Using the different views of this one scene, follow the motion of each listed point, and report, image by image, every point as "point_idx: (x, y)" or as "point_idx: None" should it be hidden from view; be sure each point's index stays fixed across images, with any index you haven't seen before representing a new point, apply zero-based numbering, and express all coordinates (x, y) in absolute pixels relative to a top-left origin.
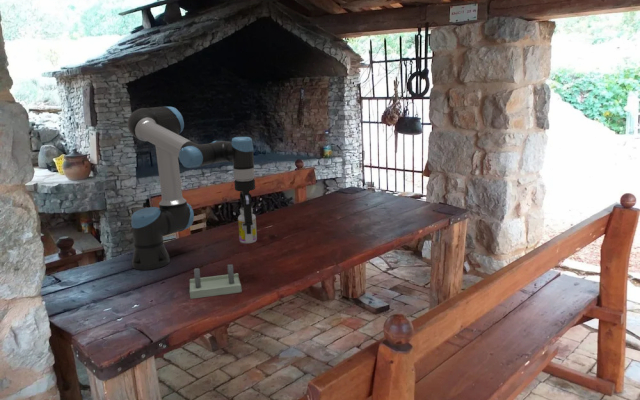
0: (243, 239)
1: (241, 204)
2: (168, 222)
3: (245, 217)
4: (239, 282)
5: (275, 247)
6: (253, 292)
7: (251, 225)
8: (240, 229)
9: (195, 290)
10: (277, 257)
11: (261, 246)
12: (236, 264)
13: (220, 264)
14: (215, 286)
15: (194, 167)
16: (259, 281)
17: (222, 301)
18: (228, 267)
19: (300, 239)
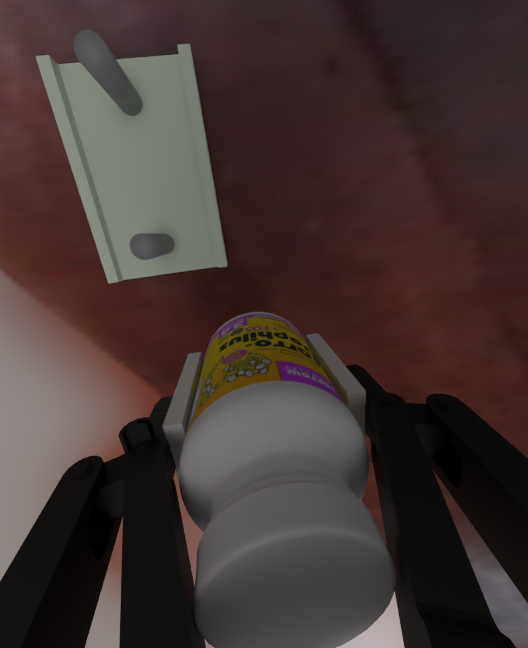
0: (209, 345)
1: (422, 627)
2: None
3: (19, 557)
4: (166, 272)
5: (475, 368)
6: (115, 316)
7: (178, 469)
8: (217, 359)
9: (51, 87)
10: (388, 375)
11: (505, 326)
12: (371, 249)
13: (391, 187)
14: (134, 181)
15: None
16: (204, 331)
17: (38, 216)
18: (133, 238)
19: (507, 431)
